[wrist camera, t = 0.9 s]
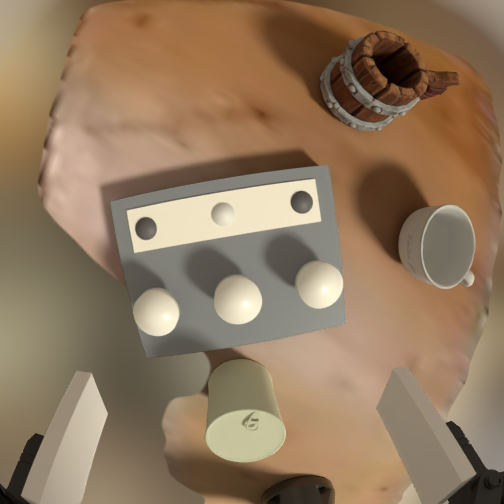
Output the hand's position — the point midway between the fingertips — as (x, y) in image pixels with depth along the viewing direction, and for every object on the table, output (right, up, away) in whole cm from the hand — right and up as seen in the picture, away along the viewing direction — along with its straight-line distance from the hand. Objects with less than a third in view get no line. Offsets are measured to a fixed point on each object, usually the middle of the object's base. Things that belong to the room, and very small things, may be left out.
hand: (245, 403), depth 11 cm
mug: (+16, +28, +24) cm, 41 cm away
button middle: (-1, +1, +21) cm, 22 cm away
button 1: (+8, +3, +22) cm, 23 cm away
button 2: (-10, 0, +21) cm, 23 cm away
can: (-1, -13, +29) cm, 32 cm away
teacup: (+26, +7, +28) cm, 39 cm away
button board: (-2, +5, +26) cm, 27 cm away
